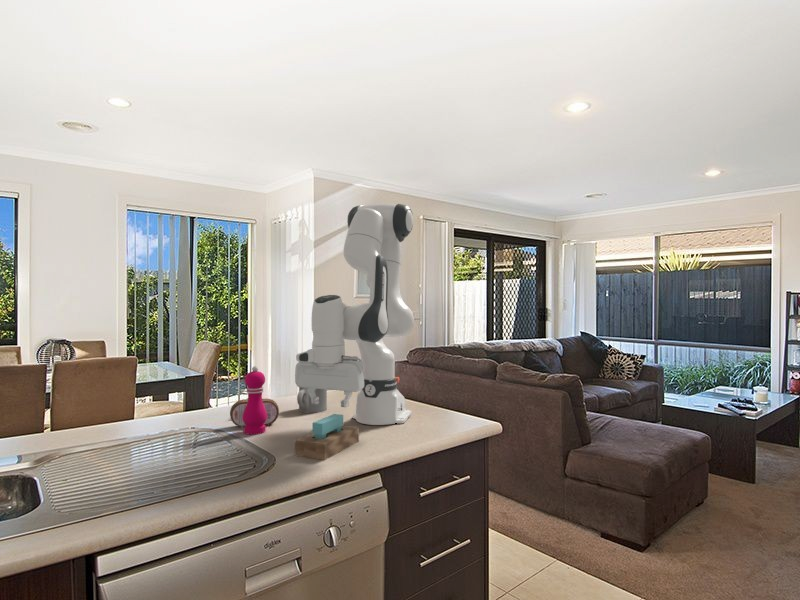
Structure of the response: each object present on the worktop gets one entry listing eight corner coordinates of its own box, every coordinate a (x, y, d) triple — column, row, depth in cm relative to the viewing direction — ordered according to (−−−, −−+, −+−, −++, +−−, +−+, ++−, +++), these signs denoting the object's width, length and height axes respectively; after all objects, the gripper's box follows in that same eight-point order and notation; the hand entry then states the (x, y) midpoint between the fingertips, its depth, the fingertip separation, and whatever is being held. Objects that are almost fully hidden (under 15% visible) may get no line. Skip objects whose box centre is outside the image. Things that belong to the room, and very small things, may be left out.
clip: (333, 442, 142) (334, 413, 142) (343, 443, 141) (343, 414, 141) (312, 453, 132) (312, 422, 132) (322, 454, 131) (322, 423, 131)
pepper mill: (260, 435, 148) (260, 368, 148) (237, 434, 150) (238, 367, 149) (271, 429, 155) (271, 365, 155) (249, 428, 157) (250, 364, 156)
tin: (278, 422, 164) (278, 397, 164) (279, 425, 161) (279, 399, 161) (229, 426, 159) (230, 399, 159) (229, 428, 156) (229, 401, 156)
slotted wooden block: (331, 437, 146) (331, 423, 146) (358, 441, 143) (358, 427, 143) (295, 455, 130) (295, 439, 130) (324, 459, 126) (324, 444, 126)
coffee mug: (313, 405, 190) (313, 379, 189) (332, 409, 184) (332, 382, 184) (285, 412, 179) (285, 384, 179) (304, 416, 173) (305, 387, 173)
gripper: (367, 355, 135) (368, 405, 136) (304, 351, 143) (305, 399, 144) (356, 358, 129) (357, 411, 130) (291, 355, 138) (292, 404, 138)
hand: (329, 405), depth 137 cm, fingers open, 8 cm apart
